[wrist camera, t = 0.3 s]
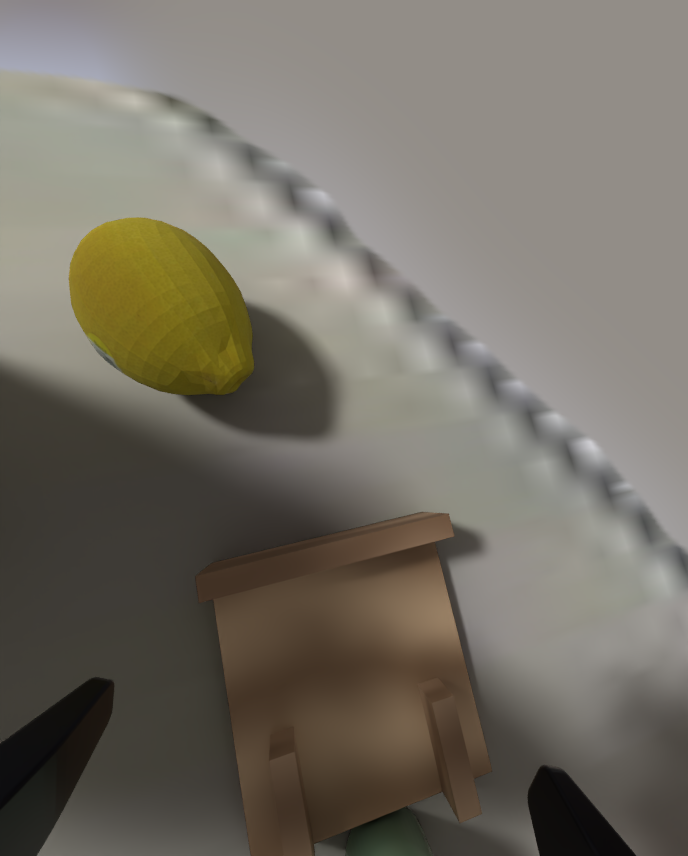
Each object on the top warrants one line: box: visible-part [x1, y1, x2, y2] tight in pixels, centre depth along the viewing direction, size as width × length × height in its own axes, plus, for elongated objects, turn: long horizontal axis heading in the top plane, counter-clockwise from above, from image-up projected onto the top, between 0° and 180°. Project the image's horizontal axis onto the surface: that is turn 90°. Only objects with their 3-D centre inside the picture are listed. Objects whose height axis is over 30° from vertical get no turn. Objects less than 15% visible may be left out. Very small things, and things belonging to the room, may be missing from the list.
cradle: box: [195, 512, 492, 856], centre depth 19 cm, size 14×13×4 cm
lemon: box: [69, 218, 254, 395], centre depth 19 cm, size 11×8×8 cm
